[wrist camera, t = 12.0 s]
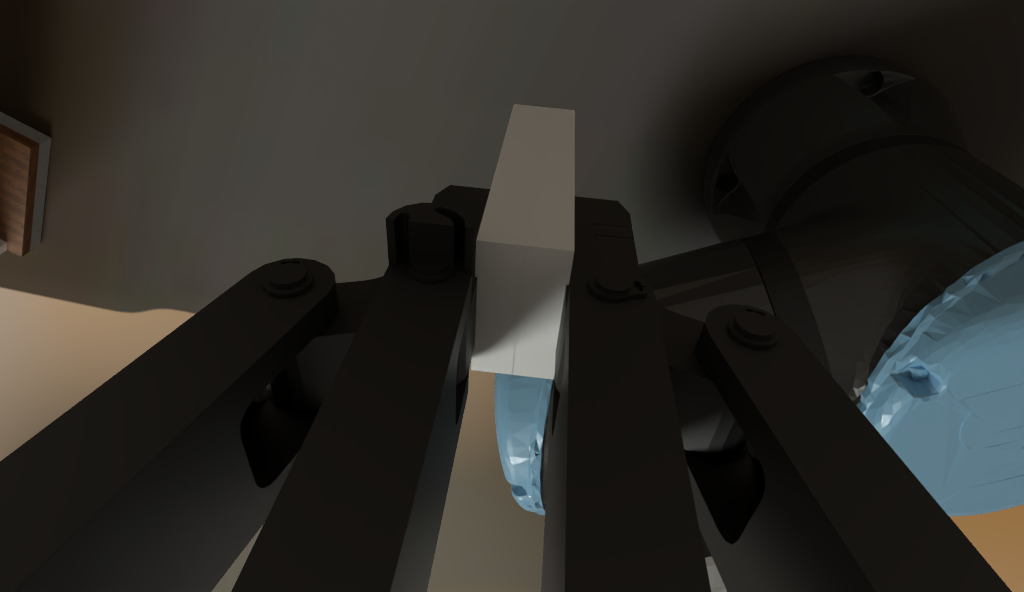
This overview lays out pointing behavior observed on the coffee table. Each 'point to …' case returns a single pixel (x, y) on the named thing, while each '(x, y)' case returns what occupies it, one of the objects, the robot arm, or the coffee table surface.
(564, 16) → the coffee table surface
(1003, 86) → the coffee table surface
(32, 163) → the white open shelf
